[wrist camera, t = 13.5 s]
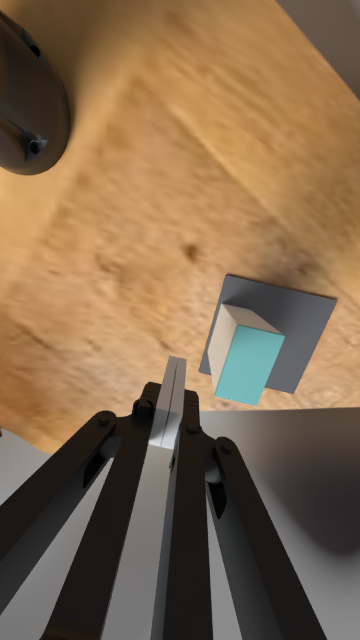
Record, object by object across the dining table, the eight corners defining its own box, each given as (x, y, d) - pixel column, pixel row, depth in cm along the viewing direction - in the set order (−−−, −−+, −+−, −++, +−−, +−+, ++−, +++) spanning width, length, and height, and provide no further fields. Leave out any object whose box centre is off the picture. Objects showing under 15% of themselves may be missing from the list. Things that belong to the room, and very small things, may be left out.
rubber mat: (225, 275, 30) (226, 275, 30) (334, 299, 30) (337, 300, 30) (198, 370, 35) (198, 372, 35) (291, 391, 35) (293, 394, 35)
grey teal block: (221, 303, 31) (238, 325, 19) (250, 309, 31) (285, 336, 19) (207, 351, 34) (215, 396, 22) (234, 357, 34) (256, 405, 22)
